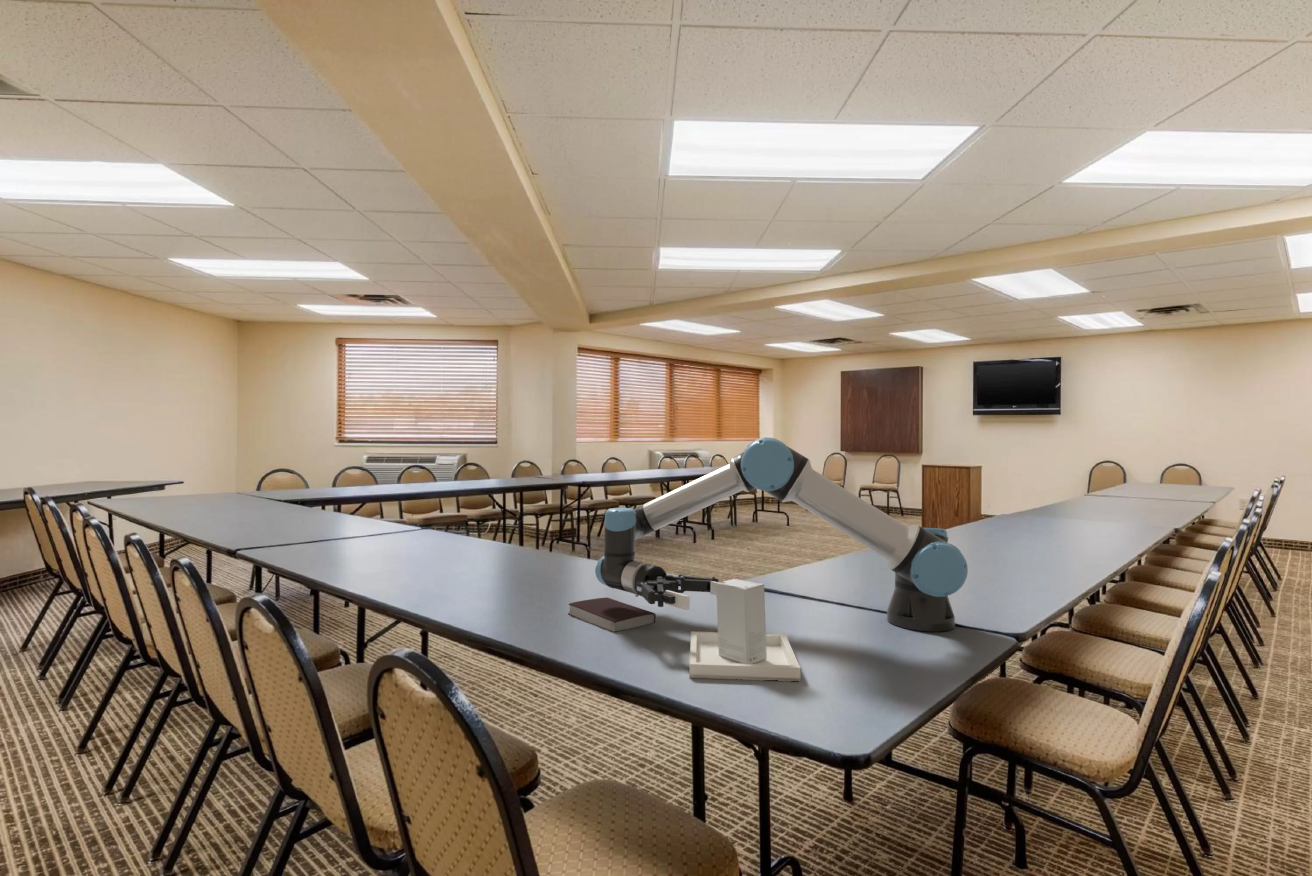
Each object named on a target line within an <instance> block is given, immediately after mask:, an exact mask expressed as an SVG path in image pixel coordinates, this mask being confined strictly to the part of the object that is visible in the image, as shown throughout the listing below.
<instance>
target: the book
mask: <svg viewBox="0 0 1312 876" xmlns="http://www.w3.org/2000/svg"><path fill="white" fill-rule="evenodd" d="M568 606H569V612H568V615H569V616H571V617H574V618H576V619H579V620H582V621H584V622H587V623H590V624H592V625H596V626H599V627H600V628H604V629H606V630H608V631H611V632H613V633H617V632H620V631H623V630H628V629H632V628H637V627H641V626H645V625H649V624H655V623H656V621H657V618H656V617H657V614H656V613H655V612H654V611H653V612H652V611H649V610H646V609H643V608H640V607H637V606H635V605H634V606H633V605H631V604H628V603H625V602H622V601H619V600H616V599H614V598H610V597H598V598H592V599H590V598H589V599H584V600H580V601H578V600H577V601H573V602H570V603H568Z"/></svg>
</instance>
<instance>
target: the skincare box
mask: <svg viewBox="0 0 1312 876" xmlns="http://www.w3.org/2000/svg"><path fill="white" fill-rule="evenodd" d="M718 582H719V583H717V584H716V585H717V595H716V607H717V609H716V610H717V611H716V612H717V613H716V615H717V632H718V650H719V656H723V657H725V658H728V659H731V660H734V661H737V662H740V663H742V664H752V663H756V662H761V661H764V660H766V658H767V650H766V634H767V632H766V631H767V627H766V603H765V602H766V601H765V600H766V598H765V584H764V583H759V582H753V581H748V580H743V579H738V578H732V579H728V580H724V581H718Z"/></svg>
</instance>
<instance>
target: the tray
mask: <svg viewBox="0 0 1312 876" xmlns="http://www.w3.org/2000/svg"><path fill="white" fill-rule="evenodd" d="M689 648H690V649H689V675H688V676H689V679H713V680H714V679H715V680H736V679H737V680H741V679H742V681H763V680H778V681H777V682H791V681H799V682H798V683H800V682H801V665H800V664H799V662H798V660H797V657H796V655H795V653H794V651H793V648H792V646H791V644H790V641H789V639H788V637H787V635H786V633H785V634H784V633H766V650H767V658H766V660H764V661H761V662H756V663H752V664H742V663H740V662H737V661H734V660H731V659H728V658H725V657H723V656H719V650H718V631H715V632H714V631H690V646H689Z"/></svg>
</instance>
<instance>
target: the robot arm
mask: <svg viewBox="0 0 1312 876" xmlns="http://www.w3.org/2000/svg"><path fill="white" fill-rule="evenodd" d="M754 490H760V491H764V492H766V493H767V494H768V495H770V496H771V497H773V498H774V499H777V500H778V501H780V502H781V503H787V502H794V503H795V504H797V505H799V506H800V507H802V508H803V509H804V510H806V511H808V512H810V513H812V514H813V515H815V516H816V517H818V518H819V519H821V520H823V521H824V522H826V523H828V524H829V525H831V526H832V527H834V528H836V529H837V530H839V531H841V532H842V533H844V534H845V535H847V536H848V537H850V538H851V539H853V540H856V541H857V542H858V543H860V544H862V545H863V546H865V547H866V548H868V549H869V550H871V551H873V552H875V553H876V554H878V556H879V555H880V556H881V557H882V558H884V559H885V560H886V564H887V568H888V569H889V570H891V571H892V572H894V590H893V592H892V596H891V599H890V601H889V604H888V606H887V609H886V621H888V623H890V624H892V625H894V626H898V627H900V628H902V629H903V628H904V629H907V630H912V631H918V632H919V631H921V632H922V631H923V632H947V631H951V630H953V629H955V628H956V627H955V626H956V616H955V613H954V610H953V608H952V604H951V602H950V598H949V596H951V595H953V594H955V593H957V592H959V590H960V589H961V588H962V587H963V586H964V585H965V582H966V580H967V577H968V574H969V573H968V571H969V567H968V563H967V560H966V558H965V555H963V553H962V552H961V550H960V549H959V548H958V547H957V546H955V545H953V544H952V543H949V542H948V541H949V536H948V531H947V530H946V529H945V528H940V527H939V528H934V527H933V528H932V527H922V526H920V525H918V524H912V525H905V524H904V523H902V522H900V521H899V520H897V519H895V518H894V517H893V516H890V515H889V514H887V513H886V512H884V511H882V510H881V509H879V508H877V507H876V506H874V505H872V504H871V503H869V502H867V501H865V500H864V499H862V497H859V496H857V495H856V494H854V493H853V492H851V491H849V490H848V489H846V488H844V487H843V486H841V485H839V484H838V483H836V482H835V481H833V480H831V479H830V478H828V477H826V476H825V475H823V474H821V473H820V472H818V471H816V470H814V469H813V467H812V464H811V460H810V459H809V458H808V457H806V456H804V455H803V454H801V453H799V452H798V451H796V450H795V449H793V448H791V447H789V446H787V445H786V444H785V443H783V441H781V440H779V439H777V438H775V437H761V438H757V439H755V440H753V441H752V442H750V443H749V444H748V445H747V446H746V448H745V449H744V451H742V453H739V454H736V455H735V456H733V457H731V459H730V462H729V463H728V464H725V465H723V466H721V467H720V468H717V469H715V470H713V471H711V472H708V473H706V474H705V475H703V476H700V477H699V478H695V479H694V480H692V481H690V482H687V483H686V484H683V485H682V486H679V487H677V488H675V489H673V490H671V491H669V492H667V493H665V494H663V495H661V496H658V497H656V498H655V499H651V500H650V501H647V502H646V503H644V504H641V505H639V506H637V507H635V508H630V507H613V508H611V507H610V508H608V509H607V510H606V511H605V512H604V513H605V514H604V521H603V526H604V547H603V548H604V554H603V556H602V557H600V558H599V559H598V560H597V563H596V566H595V568H594V569H595V572H594V573H595V577H596V578H597V581H599V583H600V584H602V585H604V586H607V587H609V588H611V589H614V590H615V589H616V590H620V591H622V592H627V593H628V594H629V593H630V594H634V595H635V598H637V597H639V596H640V597H642V598H643V599H644V600H645V601H646V602H647V603H648V604H650V605H655V604H656V602H657V607H658V608H662V607H664V604H665V605H668V606H672V607H675V608H678V609H682V610H685V611H690V602H691V601H690V599H691V598H690V595H687V594H684V593H685V592H695V593H696V592H700V593H710V595H713V596H717V585H716V584H717V583H719V582H720V581H719V579H718V578H716V577H714V576H713V577H711V578H710V577H701V576H691V575H684V574H678V575H677V576H675V575H672V574H667V572H666V571H665V569H664V568H663V567H661V566H659V565H656V564H655V565H654V564H649V563H647V562H644V561H643V562H642V561H637V560H636V541H637V540H639V539H641V538H643V537H644V536H646V535H647V536H648V535H650V534H651V533H653V532H655V531H657V530H660V529H661V528H664V527H666V526H668V525H670V524H672V523H675V522H676V521H677V522H678V521H679V520H681V519H683V518H687V517H688V516H690V515H692V514H694V513H697V512H699V511H700V510H703V509H705V508H707V507H709V506H712V505H714V504H716V503H718V502H720V501H722V500H725V499H727V498H729V497H731V496H734V495H735V494H738V493H740V492H742V491H744V492H747V493H749V492H752V491H754ZM679 587H680V589H679Z"/></svg>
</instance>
